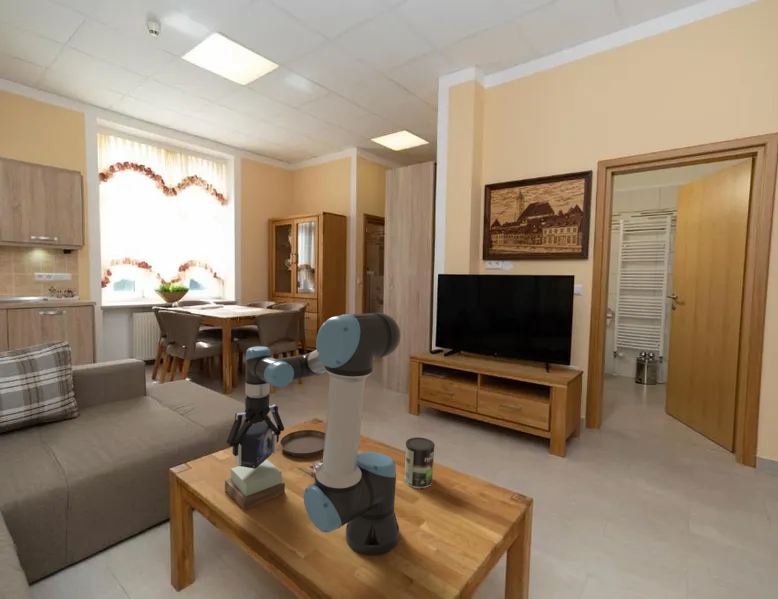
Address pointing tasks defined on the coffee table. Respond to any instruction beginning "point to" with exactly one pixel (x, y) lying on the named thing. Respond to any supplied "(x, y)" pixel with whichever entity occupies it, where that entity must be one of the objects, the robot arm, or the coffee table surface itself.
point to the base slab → (253, 498)
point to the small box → (256, 445)
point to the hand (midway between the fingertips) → (256, 458)
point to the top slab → (256, 477)
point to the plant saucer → (303, 443)
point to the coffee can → (419, 462)
